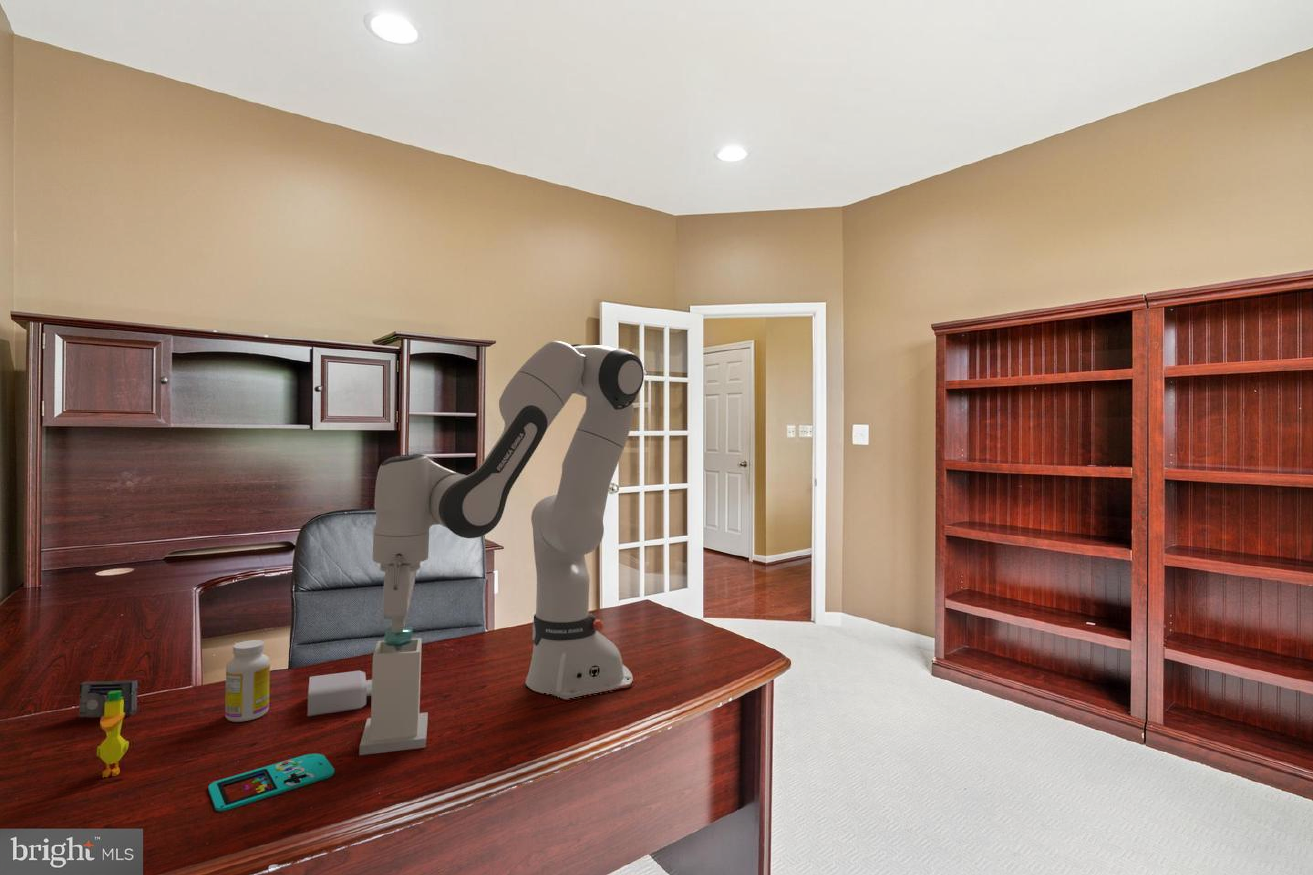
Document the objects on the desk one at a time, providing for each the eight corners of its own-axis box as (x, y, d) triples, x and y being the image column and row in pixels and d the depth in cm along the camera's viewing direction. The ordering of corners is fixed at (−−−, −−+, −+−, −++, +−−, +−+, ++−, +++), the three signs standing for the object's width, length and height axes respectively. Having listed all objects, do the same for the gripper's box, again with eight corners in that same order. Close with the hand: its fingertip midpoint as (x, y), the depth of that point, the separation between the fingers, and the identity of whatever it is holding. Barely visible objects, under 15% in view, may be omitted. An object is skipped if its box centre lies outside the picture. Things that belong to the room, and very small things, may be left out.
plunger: (412, 693, 110) (414, 624, 110) (410, 704, 106) (413, 633, 106) (382, 695, 109) (385, 626, 109) (379, 707, 104) (382, 635, 104)
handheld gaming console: (336, 770, 95) (217, 808, 85) (336, 777, 95) (216, 816, 85) (320, 748, 101) (207, 782, 91) (320, 755, 101) (207, 789, 91)
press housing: (427, 720, 114) (430, 635, 114) (425, 747, 104) (428, 654, 104) (367, 726, 111) (369, 638, 110) (359, 755, 101) (362, 659, 101)
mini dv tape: (136, 712, 113) (137, 679, 113) (131, 716, 112) (132, 682, 112) (85, 714, 112) (86, 680, 112) (78, 717, 110) (79, 683, 110)
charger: (396, 705, 120) (306, 719, 113) (392, 687, 128) (308, 699, 121) (397, 680, 120) (307, 692, 113) (393, 664, 128) (309, 674, 121)
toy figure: (122, 782, 91) (124, 699, 91) (89, 788, 89) (91, 704, 89) (130, 760, 97) (132, 683, 97) (100, 766, 95) (102, 687, 95)
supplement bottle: (269, 704, 118) (271, 636, 118) (267, 718, 112) (270, 647, 112) (226, 710, 115) (228, 640, 115) (222, 726, 109) (224, 652, 109)
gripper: (417, 561, 98) (414, 649, 98) (423, 538, 118) (420, 612, 118) (373, 562, 96) (370, 652, 96) (386, 539, 116) (384, 614, 116)
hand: (398, 630), depth 107 cm, fingers closed, pressing on plunger
